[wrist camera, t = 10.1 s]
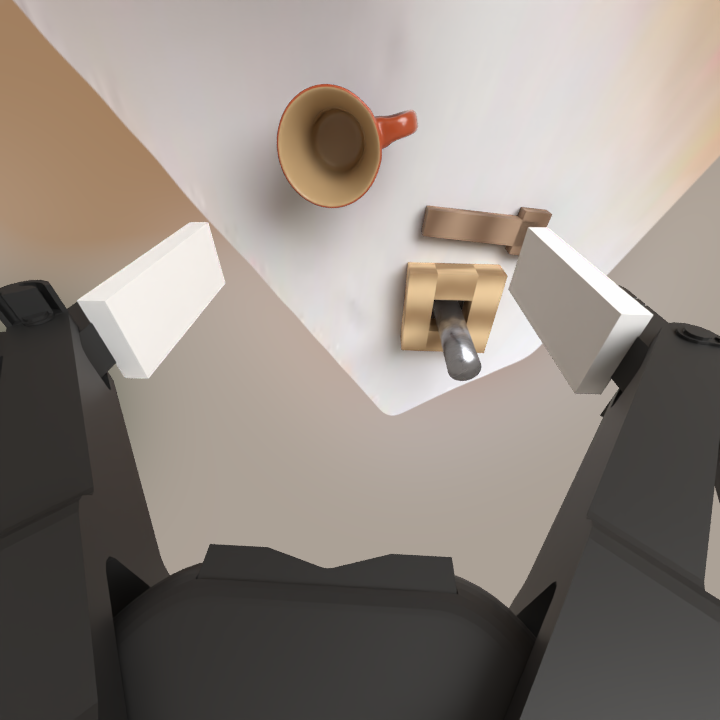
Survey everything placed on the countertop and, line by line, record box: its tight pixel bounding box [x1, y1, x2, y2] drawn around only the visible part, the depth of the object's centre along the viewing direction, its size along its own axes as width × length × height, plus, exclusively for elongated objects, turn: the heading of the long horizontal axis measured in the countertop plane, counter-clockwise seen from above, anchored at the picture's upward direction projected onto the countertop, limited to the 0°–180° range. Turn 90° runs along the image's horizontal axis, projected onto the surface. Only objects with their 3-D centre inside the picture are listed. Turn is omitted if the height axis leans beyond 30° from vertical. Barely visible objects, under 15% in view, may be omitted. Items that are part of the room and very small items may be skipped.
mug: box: [277, 84, 418, 208], centre depth 31 cm, size 12×9×10 cm
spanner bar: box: [422, 206, 552, 255], centre depth 40 cm, size 14×5×2 cm, turn 85°
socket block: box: [401, 262, 507, 353], centre depth 46 cm, size 12×12×4 cm
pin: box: [433, 300, 481, 381], centre depth 42 cm, size 4×4×14 cm
